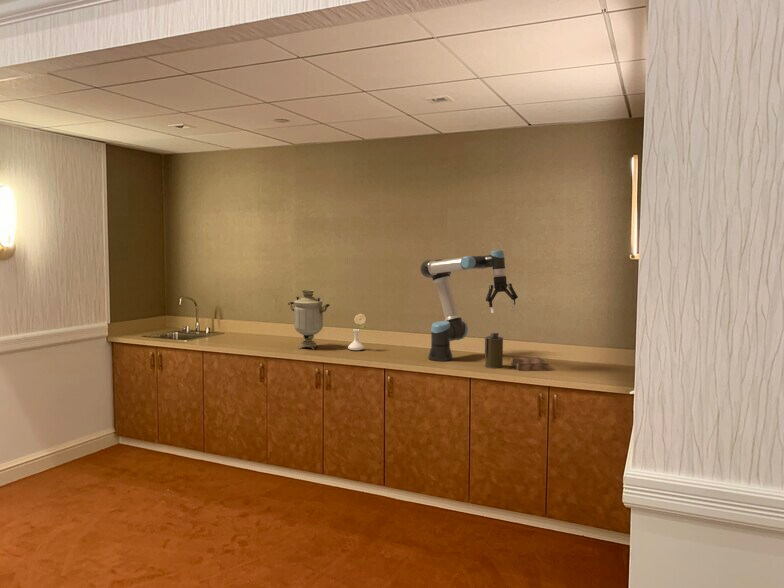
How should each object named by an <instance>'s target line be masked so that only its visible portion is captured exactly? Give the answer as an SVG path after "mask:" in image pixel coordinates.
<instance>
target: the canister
mask: <svg viewBox="0 0 784 588" xmlns="http://www.w3.org/2000/svg"><path fill="white" fill-rule="evenodd" d="M499 335H500V333H499V332H491V333H490V335H489V336H485V337H484V356H485V361H484V362H485V365H484V367H485V368H488V369H501V368H503V367H504V366H503V355H504V354H503V351H504V350H503V349H504V337H502V336H499Z"/></svg>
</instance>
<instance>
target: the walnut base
mask: <svg viewBox="0 0 784 588" xmlns="http://www.w3.org/2000/svg"><path fill="white" fill-rule="evenodd" d="M510 365H512V366H513V367H514V368H515V370H517V371H518V370H519V371H550V364H549V363H548V362H547V361H546V360H544V359H543V358H541V357H511V358H510Z"/></svg>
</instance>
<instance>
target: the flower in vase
mask: <svg viewBox="0 0 784 588" xmlns="http://www.w3.org/2000/svg"><path fill="white" fill-rule="evenodd" d="M353 320H354V322H355V324H357V325H358V327H357V326H356V325H353V324H352V326H353V327H354V328H355V329H352V332H353V336H354V340H353V341H352V342H351V343H350V344H349V345H348V346H347V349H348V350H350V351H362V350H364V349H365V348H366V347H365V346H364V344H363V343H361V342H360V341H359V332H360V329H364V328H366V326H365V325H364V324H366V321H367V317H366V316H365V314H363V313H358V314H357V315H355V317H354V319H353ZM359 328H360V329H359Z"/></svg>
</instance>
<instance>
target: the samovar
mask: <svg viewBox="0 0 784 588" xmlns="http://www.w3.org/2000/svg"><path fill="white" fill-rule="evenodd" d="M301 292H302V295H303V297H301V298H300V296H296V300H293V301H290V302H288V303H287V305H288V306H290V310H291V311H292V312H294V316H293V317H294V329H295V331H296V332H297V333H299V334H300V335H302V337H303V339H304V340H303V341H302V342H301V343H300V346H299V347H298V349H299V350H301V349H302V348H311V350H316V349H315V347H319V345H318V344H317V342H315V341H314V340H313V339H314V338H315V337H314V336H315V335H317V334H318V333H320V332H321V331H322V330H323V327H324V323H323V322H324V321H323V319H324V317H323V316H324V314H323V313H326V311H327V309H328V307H330V303H327V304H324V303H323V302H324V300H322V299H321V298H320V297H317V298H316V297H314V292H315V289H302V290H301ZM323 304H324V305H323Z"/></svg>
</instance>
